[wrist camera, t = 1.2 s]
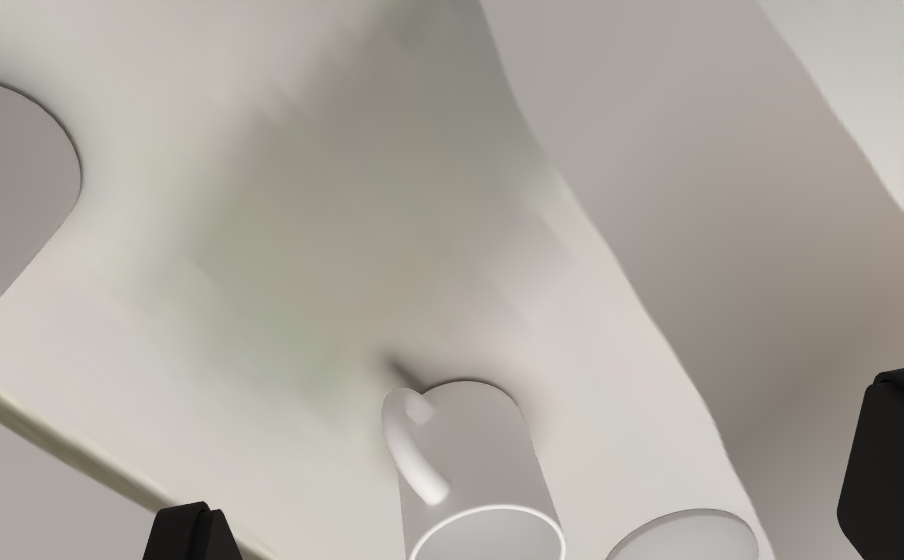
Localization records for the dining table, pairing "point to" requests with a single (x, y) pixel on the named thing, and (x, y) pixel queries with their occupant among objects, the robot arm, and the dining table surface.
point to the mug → (469, 476)
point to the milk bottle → (31, 182)
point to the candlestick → (690, 538)
